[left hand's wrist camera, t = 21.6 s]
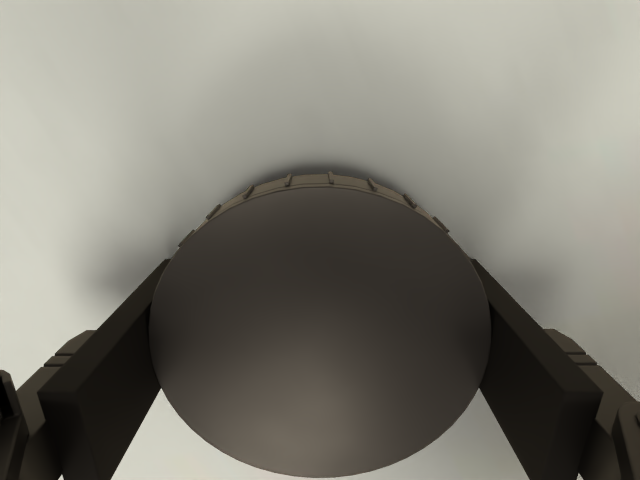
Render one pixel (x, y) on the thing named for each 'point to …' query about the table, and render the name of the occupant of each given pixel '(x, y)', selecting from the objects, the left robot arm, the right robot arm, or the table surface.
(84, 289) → the table surface
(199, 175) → the table surface
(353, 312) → the lid
